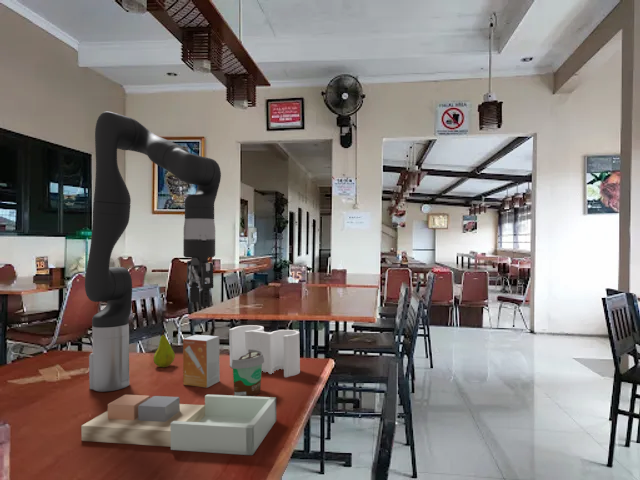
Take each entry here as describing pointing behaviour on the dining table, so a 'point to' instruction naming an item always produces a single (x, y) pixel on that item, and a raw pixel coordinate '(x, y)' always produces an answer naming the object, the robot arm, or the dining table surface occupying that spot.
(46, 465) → the dining table surface
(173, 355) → the fruit
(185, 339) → the small box
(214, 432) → the tray
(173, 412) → the tile
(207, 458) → the dining table surface
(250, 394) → the food container
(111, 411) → the tile
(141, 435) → the beige slab
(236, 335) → the bracket
